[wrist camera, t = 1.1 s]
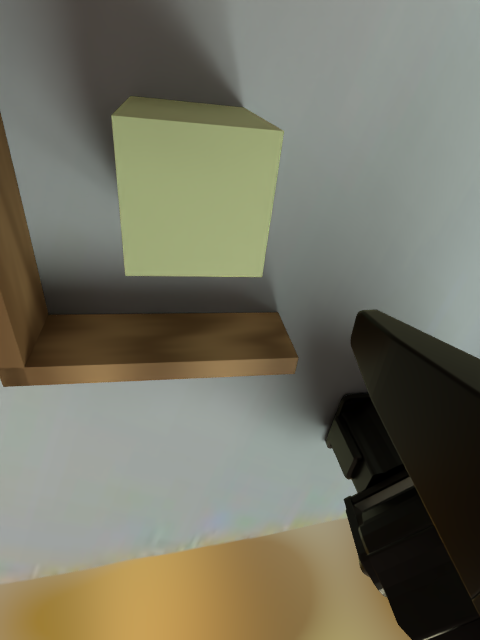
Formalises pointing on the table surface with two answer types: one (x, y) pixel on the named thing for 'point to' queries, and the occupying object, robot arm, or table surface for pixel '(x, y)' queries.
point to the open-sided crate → (116, 326)
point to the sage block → (194, 187)
